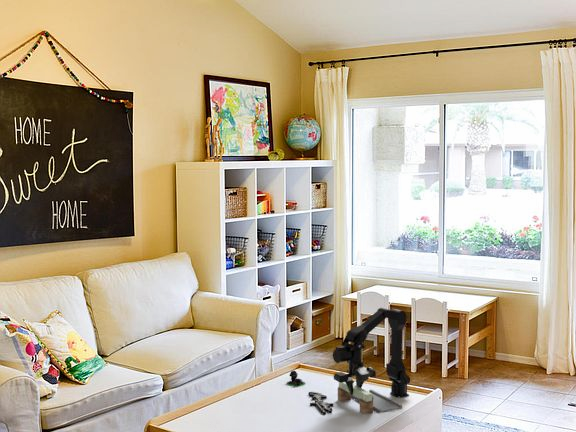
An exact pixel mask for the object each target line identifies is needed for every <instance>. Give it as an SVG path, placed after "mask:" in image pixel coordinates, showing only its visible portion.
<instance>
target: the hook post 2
mask: <svg viewBox="0 0 576 432" xmlns="http://www.w3.org/2000/svg"><path fill="white" fill-rule="evenodd" d="M359 413H360V414H362V415H367V414H373V413H374V410H373V396H372V401H368V402H366V401H364V400H362V399H360V402H359Z"/></svg>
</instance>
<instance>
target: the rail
mask: <svg viewBox="0 0 576 432" xmlns="http://www.w3.org/2000/svg"><path fill="white" fill-rule="evenodd" d="M338 387H340V388H342V389H343V390H345V391H347V392H349V393H350V391H349V389H348V387H347V385H346V383H345V382H342V383H340V382H338ZM353 395H354V396H356V397H358V398H360V399H362V400H364V401H366V402H368V401H372V393H370V392H369V391H367V390H366V389H363V388H360V387H358V386H356V384H354V383H353Z"/></svg>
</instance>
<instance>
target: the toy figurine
mask: <svg viewBox="0 0 576 432" xmlns="http://www.w3.org/2000/svg"><path fill="white" fill-rule="evenodd" d="M289 377H290V380H289V381H287V382H286V385H287V386H290V387H303V386H305V385H306V382H304V381H303V379H301V378H298V373H297V371H296V370H291V372H290V373H289Z"/></svg>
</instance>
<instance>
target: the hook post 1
mask: <svg viewBox="0 0 576 432" xmlns="http://www.w3.org/2000/svg"><path fill="white" fill-rule="evenodd" d="M351 399H352V398H351V394H350V393H349V392H347V391H345V390H343V389H342V388H340V387H339V386H337V401H339V402H342V403H343V402H348V400H349V401H351Z"/></svg>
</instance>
